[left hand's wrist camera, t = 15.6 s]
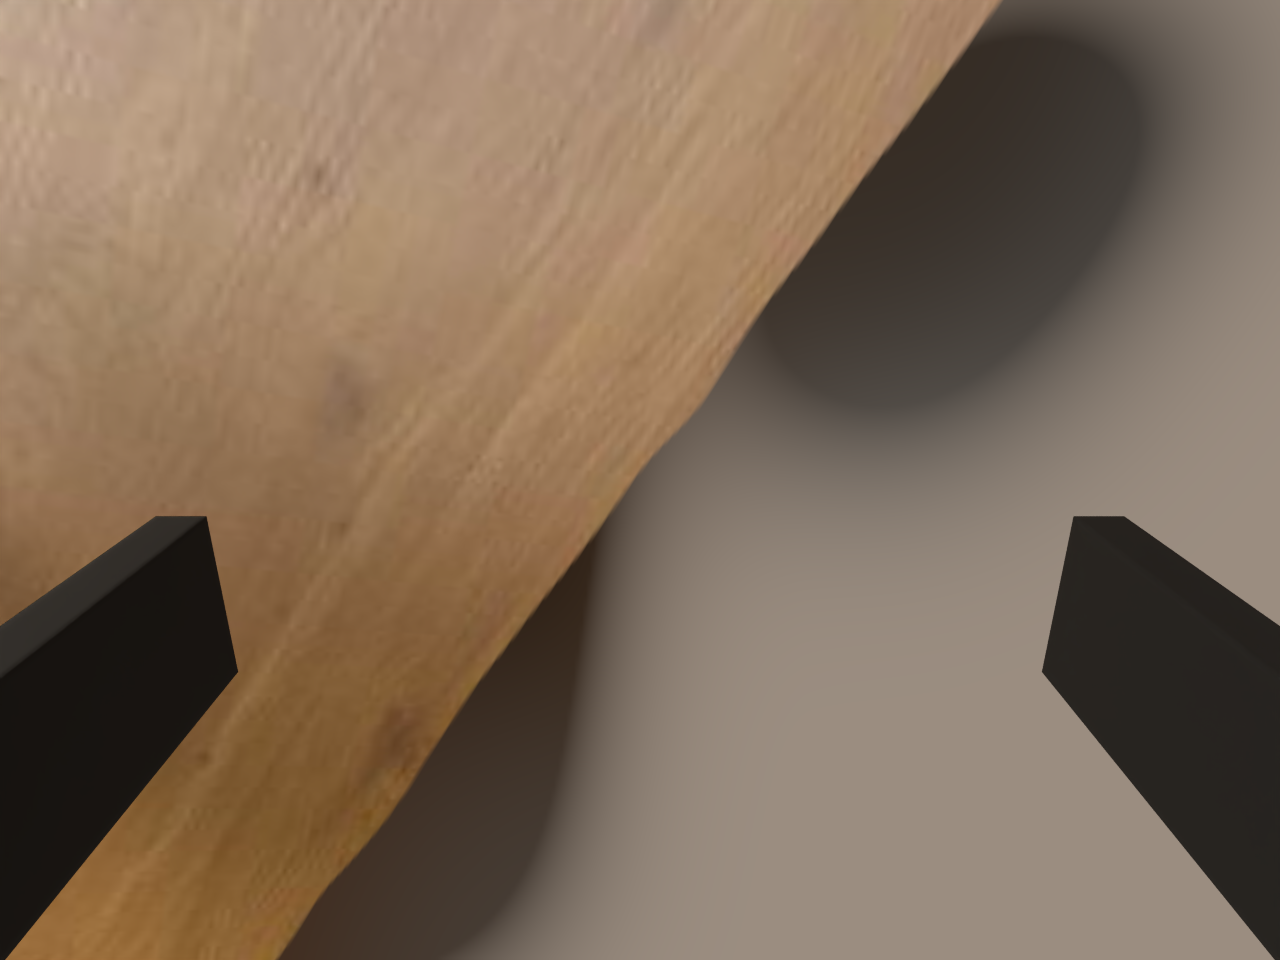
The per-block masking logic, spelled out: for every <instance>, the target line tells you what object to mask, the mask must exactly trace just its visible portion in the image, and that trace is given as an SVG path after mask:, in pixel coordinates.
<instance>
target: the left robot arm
mask: <svg viewBox="0 0 1280 960" xmlns="http://www.w3.org/2000/svg"><path fill="white" fill-rule="evenodd" d="M1042 672H1043V674H1044V675H1045V676H1046V677H1047V679H1048V680H1049V681H1050V682H1051V684H1052V685H1053V686H1054V687H1055V689H1056V690H1057V691H1058V692H1059V693H1060V695H1061V696H1062V697H1063V698H1064V700H1065V701H1066V702H1067V703H1068V705H1069V706H1070V707H1071V708H1072V710H1073V711H1074V712H1075V713H1076V715H1077V716H1078V717H1079V718H1080V719H1081V721H1082V722H1083V723H1084V724H1085V726H1086V727H1087V728H1088V729H1089V731H1090V732H1091V733H1092V734H1093V736H1094V737H1095V738H1096V739H1097V741H1098V742H1099V743H1100V744H1101V745H1102V747H1103V748H1104V749H1105V750H1106V752H1107V753H1108V754H1109V755H1110V757H1111V758H1112V759H1113V760H1114V762H1115V763H1116V764H1117V765H1118V766H1119V768H1120V769H1121V770H1122V771H1123V773H1124V774H1125V775H1126V776H1127V778H1128V779H1129V780H1130V781H1131V782H1132V784H1133V785H1134V786H1135V788H1136V789H1137V790H1138V791H1139V792H1140V794H1141V795H1142V796H1143V797H1144V799H1145V800H1146V801H1147V802H1148V804H1149V805H1150V806H1151V807H1152V809H1153V810H1154V811H1155V812H1156V813H1157V815H1158V816H1159V817H1160V818H1161V820H1162V821H1163V822H1164V823H1165V825H1166V826H1167V827H1168V828H1169V830H1170V831H1171V832H1172V833H1173V834H1174V836H1175V837H1176V838H1177V839H1178V841H1179V842H1180V843H1181V844H1182V846H1183V847H1184V848H1185V849H1186V851H1187V852H1188V853H1189V854H1190V856H1191V857H1192V858H1193V859H1194V860H1195V862H1196V863H1197V864H1198V865H1199V867H1200V868H1201V869H1202V870H1203V872H1204V873H1205V874H1206V875H1207V877H1208V878H1209V879H1210V880H1211V881H1212V883H1213V884H1214V885H1215V886H1216V888H1217V889H1218V890H1219V891H1220V893H1221V894H1222V895H1223V896H1224V898H1225V899H1226V900H1227V901H1228V902H1229V904H1230V905H1231V906H1232V907H1233V909H1234V910H1235V911H1236V912H1237V914H1238V915H1239V916H1240V917H1241V919H1242V920H1243V921H1244V922H1245V924H1246V925H1247V926H1248V927H1249V928H1250V930H1251V931H1252V932H1253V933H1254V935H1255V936H1256V937H1257V938H1258V940H1259V941H1260V942H1261V943H1262V945H1263V946H1264V947H1265V948H1266V949H1267V951H1268V952H1269V953H1270V954H1271V956H1272V957H1273V958H1274V959H1275V960H1280V626H1279V625H1277V624H1276V623H1275V622H1273V621H1272V620H1270V619H1269V618H1268V617H1266V616H1265V615H1263V614H1262V613H1260V612H1259V611H1257V610H1256V609H1255V608H1253V607H1252V606H1251V605H1249V604H1248V603H1246V602H1245V601H1243V600H1242V599H1241V598H1239V597H1238V596H1236V595H1235V594H1233V593H1232V592H1231V591H1229V590H1228V589H1226V588H1225V587H1224V586H1222V585H1221V584H1219V583H1218V582H1216V581H1215V580H1214V579H1212V578H1211V577H1209V576H1208V575H1206V574H1205V573H1204V572H1202V571H1201V570H1199V569H1198V568H1197V567H1195V566H1194V565H1192V564H1191V563H1189V562H1188V561H1187V560H1185V559H1184V558H1182V557H1181V556H1180V555H1178V554H1177V553H1175V552H1174V551H1173V550H1171V549H1170V548H1168V547H1167V546H1165V545H1164V544H1163V543H1161V542H1160V541H1158V540H1157V539H1155V538H1154V537H1153V536H1151V535H1150V534H1148V533H1147V532H1146V531H1144V530H1143V529H1141V528H1140V527H1138V526H1137V525H1136V524H1134V523H1133V522H1131V521H1130V520H1129V519H1127V518H1126V517H1124V516H1074V517H1073V522H1072V527H1071V532H1070V537H1069V542H1068V547H1067V551H1066V556H1065V561H1064V566H1063V571H1062V576H1061V581H1060V586H1059V591H1058V596H1057V600H1056V606H1055V610H1054V615H1053V620H1052V625H1051V630H1050V635H1049V640H1048V645H1047V650H1046V655H1045V659H1044V664H1043V669H1042ZM237 673H238V669H237V664H236V659H235V655H234V650H233V645H232V640H231V635H230V630H229V625H228V620H227V615H226V610H225V605H224V600H223V596H222V591H221V586H220V581H219V576H218V571H217V566H216V561H215V556H214V551H213V546H212V542H211V537H210V532H209V527H208V522H207V517H206V516H156V517H154V518H153V519H151V520H150V521H149V522H147V523H146V524H144V525H143V526H141V527H140V528H139V529H137V530H136V531H134V532H133V533H132V534H130V535H129V536H127V537H126V538H124V539H123V540H122V541H120V542H119V543H117V544H116V545H115V546H113V547H112V548H110V549H109V550H107V551H106V552H105V553H103V554H102V555H100V556H99V557H98V558H96V559H95V560H93V561H92V562H90V563H89V564H88V565H86V566H85V567H83V568H82V569H81V570H79V571H78V572H76V573H75V574H73V575H72V576H71V577H69V578H68V579H66V580H65V581H64V582H62V583H61V584H59V585H58V586H56V587H55V588H54V589H52V590H51V591H49V592H48V593H47V594H45V595H44V596H42V597H41V598H39V599H38V600H37V601H35V602H34V603H32V604H31V605H29V606H28V607H27V608H25V609H24V610H22V611H21V612H20V613H18V614H17V615H15V616H14V617H12V618H11V619H10V620H8V621H7V622H5V623H4V624H3V625H1V626H0V960H5V959H6V958H7V957H8V956H9V954H10V953H11V952H12V951H13V949H14V948H15V947H16V946H17V945H18V943H19V942H20V941H21V940H22V938H23V937H24V936H25V935H26V933H27V932H28V931H29V930H30V928H31V927H32V926H33V925H34V924H35V922H36V921H37V920H38V919H39V917H40V916H41V915H42V914H43V912H44V911H45V910H46V909H47V907H48V906H49V905H50V904H51V902H52V901H53V900H54V899H55V898H56V896H57V895H58V894H59V893H60V891H61V890H62V889H63V888H64V886H65V885H66V884H67V883H68V881H69V880H70V879H71V878H72V877H73V875H74V874H75V873H76V872H77V870H78V869H79V868H80V867H81V865H82V864H83V863H84V862H85V860H86V859H87V858H88V857H89V856H90V854H91V853H92V852H93V851H94V849H95V848H96V847H97V846H98V844H99V843H100V842H101V841H102V839H103V838H104V837H105V836H106V834H107V833H108V832H109V831H110V830H111V828H112V827H113V826H114V825H115V823H116V822H117V821H118V820H119V818H120V817H121V816H122V815H123V813H124V812H125V811H126V810H127V809H128V807H129V806H130V805H131V804H132V802H133V801H134V800H135V799H136V797H137V796H138V795H139V794H140V792H141V791H142V790H143V789H144V788H145V786H146V785H147V784H148V783H149V781H150V780H151V779H152V778H153V776H154V775H155V774H156V773H157V771H158V770H159V769H160V768H161V766H162V765H163V764H164V763H165V762H166V760H167V759H168V758H169V757H170V755H171V754H172V753H173V752H174V750H175V749H176V748H177V747H178V745H179V744H180V743H181V742H182V741H183V739H184V738H185V737H186V736H187V734H188V733H189V732H190V731H191V729H192V728H193V727H194V726H195V724H196V723H197V722H198V721H199V719H200V718H201V717H202V716H203V715H204V713H205V712H206V711H207V710H208V708H209V707H210V706H211V705H212V703H213V702H214V701H215V700H216V698H217V697H218V696H219V695H220V694H221V692H222V691H223V690H224V689H225V687H226V686H227V685H228V684H229V682H230V681H231V680H232V679H233V677H234V676H235V675H236V674H237Z"/></svg>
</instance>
